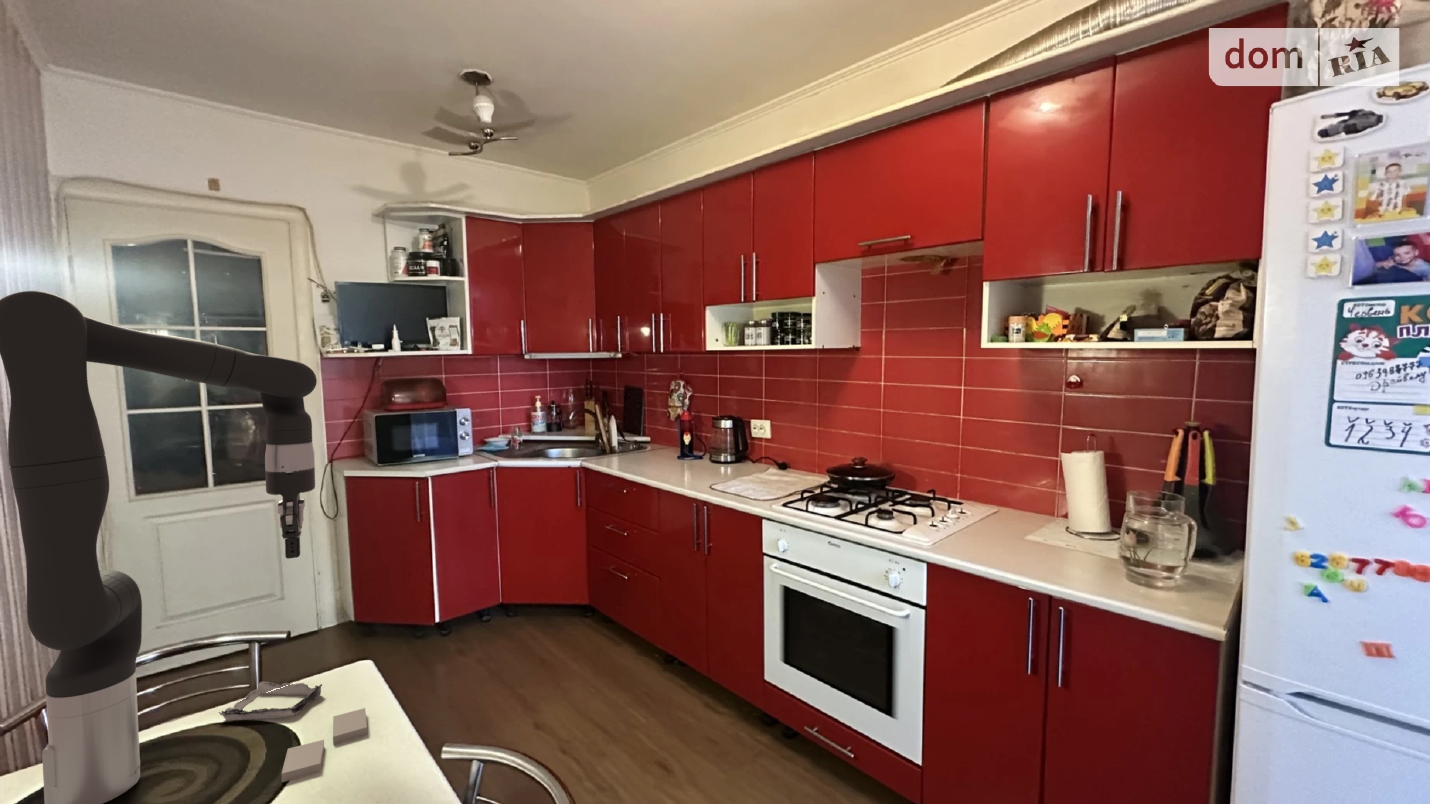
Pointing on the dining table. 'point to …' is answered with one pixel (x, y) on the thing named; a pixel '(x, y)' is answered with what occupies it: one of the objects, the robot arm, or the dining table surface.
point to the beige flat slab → (303, 760)
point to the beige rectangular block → (349, 726)
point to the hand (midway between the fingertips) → (293, 556)
